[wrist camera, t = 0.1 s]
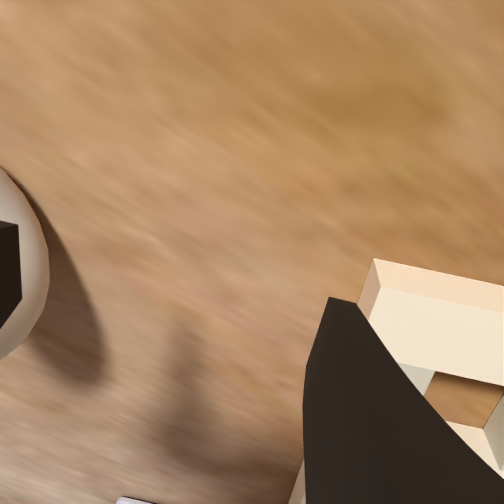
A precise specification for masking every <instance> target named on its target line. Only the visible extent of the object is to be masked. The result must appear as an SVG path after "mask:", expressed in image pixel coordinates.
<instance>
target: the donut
mask: <svg viewBox="0 0 504 504" xmlns="http://www.w3.org/2000/svg"><path fill="white" fill-rule="evenodd" d="M0 220H1V221H5V222H10V223H14V224H18V226H19V245H20V263H21V281H22V300H21V301H20V303H19V304H18V306H17V307H16V309H15V310H14V311H13V313H12V314H11V316H10V317H9V318H8V320H7V321H6V322H5V324H4V325H3V326H2V328H1V329H0V360H1V359H2V358H4V357H5V356H6V355H8V354H9V353H10V352H11V351H13V350H14V349H15V348H17V347H18V346H19V345H21V344H22V343H23V342H24V341H25V339H26V338H27V336H28V335H29V333H30V332H31V330H32V328H33V327H34V325H35V323H36V322H37V320H38V319H39V317H40V315H41V314H42V312H43V310H44V307H45V302H46V298H47V293H48V289H49V284H50V271H49V256H48V248H47V244H46V241H45V238H44V235H43V232H42V229H41V225H40V222H39V220H38V218H37V217H36V215H35V213H34V211H33V210H32V208H31V206H30V204H29V202H28V201H27V199H26V197H25V195H24V194H23V193H22V192H21V190H20V189H19V188H18V187H17V186H16V184H15V183H14V182H13V181H12V180H11V179H10V177H9V176H8V175H7V174H6V173H5V171H4V170H3V169H2V168H0Z"/></svg>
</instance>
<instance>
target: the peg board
mask: <svg viewBox="0 0 504 504" xmlns="http://www.w3.org/2000/svg"><path fill="white" fill-rule="evenodd" d="M357 305H358V307H359V308H360V310H361V311H362V313H363V314H364V316H365V317H366V319H367V320H368V322H369V323H370V325H371V326H372V328H373V329H374V331H375V332H376V334H377V335H378V337H379V338H380V340H381V341H382V342H383V344H384V345H385V347H386V348H387V350H388V351H389V352H390V354H391V355H392V357H393V358H394V359H395V361H396V362H397V363H398V365H399V366H400V368H401V369H402V370H403V371H404V373H405V374H406V375H407V377H408V378H409V379H410V381H411V382H412V383H413V384H414V385H415V387H416V388H417V389H418V390H419V392H420V393H421V394H422V395H424V393H425V391H426V389H427V387H428V385H429V383H430V381H431V379H432V377H433V374H434V372H435V371H439V372H443V373H448V374H452V375H457V376H461V377H466V378H470V379H475V380H479V381H484V382H488V383H493V384H498V385H502V386H504V286H502V285H497V284H492V283H488V282H483V281H478V280H474V279H469V278H464V277H460V276H455V275H450V274H446V273H441V272H436V271H432V270H427V269H422V268H418V267H413V266H408V265H404V264H399V263H394V262H390V261H385V260H380V259H376V258H373V261H372V264H371V267H370V270H369V272H368V275H367V278H366V281H365V284H364V287H363V290H362V293H361V295H360V298H359V301H358V304H357ZM445 422H446V423H447V424H448V425H449V426H450V427H451V428H452V429H453V430H454V431H455V432H456V433H457V434H458V435H459V436H460V437H461V438H462V439H463V440H464V442H465V443H466V444H467V445H468V446H469V447H470V448H471V449H472V450H473V451H474V452H475V453H476V454H478V455H479V456H480V457H481V458H482V459H483V460H484V461H485V462H486V463H487V464H488V465H489V466H490V467H491V468H492V469H493V470H495V471H496V472H497V473H498V474H499V475H500V476H501V477H502V478H503V479H504V395H503V396H502V398H501V400H500V401H499V403H498V405H497V406H496V408H495V410H494V411H493V413H492V415H491V416H490V418H489V420H488V421H487V423H486V425H485V426H484V428H483V429H480V428H475V427H471V426H466V425H462V424H457V423H453V422H448V421H445ZM288 504H306V498H305V469H304V459H303V462H302V465H301V468H300V471H299V474H298V477H297V479H296V482H295V485H294V488H293V491H292V494H291V497H290V500H289V502H288Z"/></svg>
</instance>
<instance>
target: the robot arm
mask: <svg viewBox="0 0 504 504" xmlns="http://www.w3.org/2000/svg"><path fill="white" fill-rule="evenodd" d="M21 300H22V281H21V263H20V245H19V226H18V224H14V223H10V222H5V221H1V220H0V329H1V328H2V326H3V325H4V324H5V322H6V321H7V320H8V318H9V317H10V316H11V314H12V313H13V311H14V310H15V309H16V307H17V306H18V304H19V303H20V301H21ZM303 441H304V469H305V498H306V504H504V479H503V478H502V477H501V476H500V475H499V474H498V473H497V472H496V471H495V470H493V469H492V468H491V467H490V466H489V465H488V464H487V463H486V462H485V461H484V460H483V459H482V458H481V457H480V456H479V455H478V454H476V453H475V452H474V451H473V450H472V449H471V448H470V447H469V446H468V445H467V444H466V443H465V442H464V440H463V439H462V438H461V437H460V436H459V435H458V434H457V433H456V432H455V431H454V430H453V429H452V428H451V427H450V426H449V425H448V424H447V423H446V422H445V421H444V419H443V418H442V417H441V416H440V415H439V414H438V413H437V412H436V411H435V409H434V408H433V407H432V406H431V405H430V404H429V403H428V401H427V400H426V399H425V398H424V396H423V395H422V394H421V393H420V392H419V390H418V389H417V388H416V387H415V385H414V384H413V383H412V382H411V381H410V379H409V378H408V377H407V375H406V374H405V373H404V371H403V370H402V369H401V368H400V366H399V365H398V363H397V362H396V361H395V359H394V358H393V357H392V355H391V354H390V352H389V351H388V350H387V348H386V347H385V345H384V344H383V342H382V341H381V340H380V338H379V337H378V335H377V334H376V332H375V331H374V329H373V328H372V326H371V325H370V323H369V322H368V320H367V319H366V317H365V316H364V314H363V313H362V311H361V310H360V308H359V307H358V305H357V304H356V303H353V302H349V301H345V300H340V299H336V298H332V297H329V298H328V301H327V304H326V307H325V310H324V313H323V316H322V319H321V322H320V325H319V329H318V332H317V335H316V338H315V341H314V344H313V347H312V350H311V353H310V356H309V359H308V362H307V365H306V373H305V383H304V394H303ZM116 504H152V503H148V502H143V501H139V500H135V499H130V498H126V497H120V498H119V499H118V500H117V503H116Z"/></svg>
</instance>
